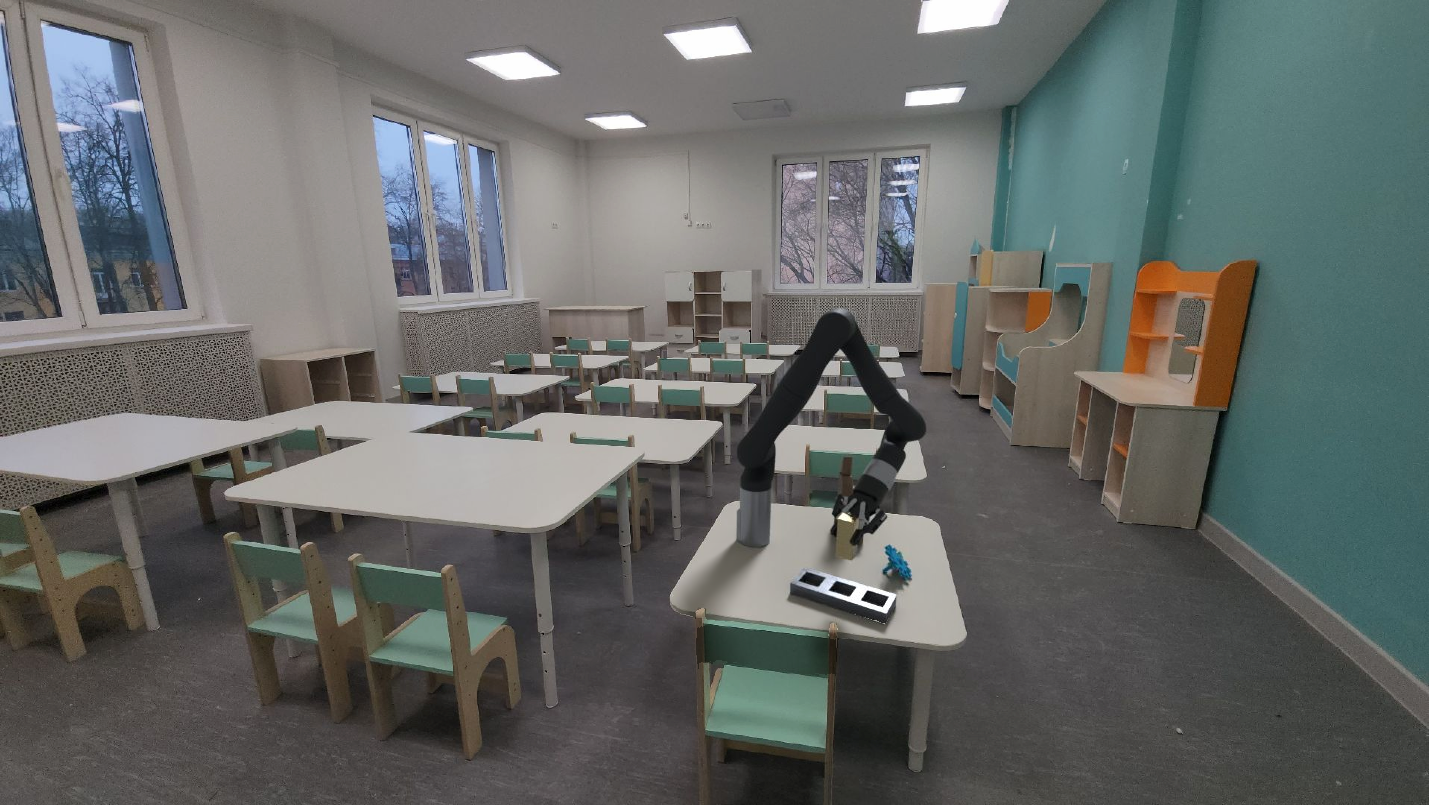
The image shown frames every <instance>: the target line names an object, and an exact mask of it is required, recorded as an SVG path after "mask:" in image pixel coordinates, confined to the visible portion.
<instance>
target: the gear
mask: <svg viewBox="0 0 1429 805" xmlns="http://www.w3.org/2000/svg"><path fill="white" fill-rule="evenodd" d="M883 548H884V549H885V551H884V554H885V555H886V556H887V560H888V562H887V566H885V567H884V568H883V569H882V573H884V574H885V573H887V572H889V570H892V569H894V571H897V570H899V572H898V574H899V575H900V576H901V577H902V578H903V577H904V579H906V580H909V579H910V578H912V577H913V575H912V569H911V568H910V567H909V564H908V562H907V561H906V560H904V556H903V553H902V552H901V550H900V551H898V550H897V548H896V547H895V546H894V547H893V546H892V545H891V544H887V545H885V546H884V547H883Z"/></svg>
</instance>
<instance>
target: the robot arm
mask: <svg viewBox="0 0 1429 805" xmlns="http://www.w3.org/2000/svg"><path fill="white" fill-rule="evenodd" d="M839 351H841V352H842V353H843V354H844V355H845V357H846V358H847V360H848V361H849V363H850V365H851V367H852V369H853V371H854V373H855V375H856V378H857V379H858V382H859V384H860V386H861V388H862V389H863V392H864V393H865V394H866V396H867V398H868V400H870V402H871V403H872V405H873V406H874V408H875V409H876V410H877V411H878V413H880V414H882V415H886V416H888V417H889V418H890V419H891V420H890V421H889V422H888V424H887V425H886V427H885V429H884V431H883V435H882V438H881V441H880V445H879V447H878V449H877V450H876V451H875V454H874V455H873V457H872V458H871V460H870V462H869V463H868V464H867V465H866V467H865V468H864V471H863V472H862V474H861V475H860V477H859V478H858V480H857V482H856V484H855V485H854V486H855V487H854V491H853V493H852V494H851V495H850V496H849V497H845V496H842V495H841V494H839V495H838V494H837V495H838V497H837V496H836V497H837V499H836V502H835V501H834V505H833V509H832V512H831V515H832V516H833V518H834V517H835V518H836V521H835V523H834V522H833V525H832V526H831V529H830V535H831V536H832V537H833V538H836V539H837V523H838V518H839V517H840V516H841V514H842V513H847V514H852V515H856V516H859V525H858V529H856V530H855V532H854V534H853V535H852V537H851V539H850V541H849V543H850V544H851V545H853V546H856V545H857V546H858V545H860V544H859V542H860V541H861V539H862V537H863V535H867V534H870V535H874V534H875V533H876V532H877V530H878V529H879V528H880V527H881V526H882V525H883V524H884V522H885V521H886V520H887V519H888V515H887V513H886V512H885V511H884V510H883V509H880V506H882V504H883V502H884V501H885V499H886V497H887V496H888V493H889V492H890V490H891V489H892V486H893V485H894V483H895V480H896V478H897V476H898V474H899V472H900V470H901V469H902V466H903V465H904V463H905V461H906V458H907V453H906V451H905V447H906V446H907V444H908V443H912V442H916V441H920V440H921V439H923V438H924V437H925V435H926V433H927V423H926V420H925V419H924V417H923V416H922V414H921V413H920V411H918V410H917V409H916V408H915V407H914V406H913V405H912V404H911V403H910V402H909V401H907V399H905V398H904V397H903V396H902V395H901V393H900V392H899V390H898V388H897V387H896V386H895V385H894V383H893V382H892V380H891V378H890V377H889V376H888V375H887V373H886V371H885V370H884V369H883V368H882V366H881V364H880V363H879V361H878V360H877V358H876V357H875V355H874V354H873V352H872V350H871V348H870V347H869V345H868V343H867V341H866V339H865V337H864V336H863V333H862V331H861V328H860V327H859V325H858V323H857V320H856V318H855V316H854V315H853V314H852V312H850V311H849V310H847V309H846V308H841V307H839V308H832V309H830V310H829V311H826V312H825V313H824V314H822V315H821V316H820V317H819V319H818V321H817V322H816V325H815V326H814V328H813V330H812V333H811V334H810V337H809V339H808V340H807V342H806V345H805V347H804V348H803V349H802V351H801V353H800V354H799V355H798V356H797V358H796V359H795V360H794V362H793V363H792V364H791V366H790V367H788V370H787V371H786V372H785V373H784V375H783V376H782V378H781V379H780V381H779V382H778V384H777V386H776V387H775V389H774V390H773V392H772V394H771V395H770V397H769V399H768V401H767V403H766V404H765V406H764V408H763V409H762V411H761V413H760V415H759V416H758V418H757V419H756V422H754V425H753V426H752V427H750V429H749V430H748V432H747V433H746V434H745V436H743V438H742V439H741V440H740V441H739V443H738V445H737V447H736V458H737V461H738V463H739V464H740V465H741V466H742V467H744V469H743V472H742V474H741V476H740V479H739V480H740V481H739V508H738V509H737V510H736V530H735V531H736V535H735V536H736V537H735V538H736V541H739V542H740V543H741V544H742V545H744V546H747V547H751V548H752V547H753V548H759V547H765V546H766V545H768V544H769V543H770V541H771V520H772V519H771V518H772V516H771V514H772V487H773V486H772V485H773V484H772V483H773V479H774V477H775V469H776V458H777V457H776V456H777V455H776V454H777V453H776V451H777V450H776V440H777V439H778V437H779V435H781V433H782V432H783V431H784V430H785V429H786V428H787V427H788V426H790V424H791V423H792V422H793V421H794V420H795V419H796V418H797V416H798V415H799V414H800V413H801V412H802V410H803V409H804V408H805V406H807V404H808V402H809V401H810V399H811V397H812V396H813V395H814V393H815V391H816V389H817V387H818V385H819V382H820V381H821V379H822V375H823V373H824V372H825V369H826V368H827V366H828V365H829V363H830V362H831V361H832V360H833V358H834V357H835V356H836V355H837V353H838V352H839ZM847 502H848V505H847V506H846V507H845V508H844V505H846V503H847ZM843 508H844V509H843ZM848 511H849V512H850V513H848ZM872 516H874V517H873V518H872V519H871V517H872ZM863 538H864V537H863Z"/></svg>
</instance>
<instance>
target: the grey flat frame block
mask: <svg viewBox="0 0 1429 805" xmlns="http://www.w3.org/2000/svg"><path fill="white" fill-rule="evenodd" d="M808 583H809V584H808ZM789 585H790V586H789V587H790V588H789V595H790V594H791V595H794V596H796V597H800V598H802V599H806V600H809V601H812V602H814V603H818V604H820V605H824V606H826V607H830V608H833V609H837V610H839V611H841V612H845V613H849V614H851V615H854V614H856V615H855V616H857V615H859V616H858V617H860V616H861V617H860V618H863V617H866V618H869V619H872V620H877V621H879V622H881V623H885V624H887V623H886V622H888V621H889V619H890V617H891V615H892V614H893V612H892V611H894V610H895V608H896V606H897V598H898V597H897V596H898V595H897V594H896V593H893V592H890V591H889V592H888V591H886V590H882V589H879V588H876V587H872V586H869V585H866V584H862V583H859V582H856V581H853V580H849V579H845V578H843V577H842V578H841V577H839V576H835V575H832V574H828V573H825V572H822V571H819V570H816V569H812V568H809V567H805V566H804V567H803V569H801V570H800V572H799V573H798V574H797V575H796V576H795V577H794V578H793V579H792V580H791V582H790V584H789ZM878 605H879V606H878ZM882 606H883V607H882ZM891 613H892V614H891ZM866 618H865V619H866ZM888 618H889V619H888ZM869 619H868V620H869ZM872 620H871V621H872ZM887 620H888V621H887ZM881 623H880V624H881Z"/></svg>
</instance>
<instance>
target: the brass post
mask: <svg viewBox="0 0 1429 805" xmlns="http://www.w3.org/2000/svg"><path fill="white" fill-rule="evenodd" d="M858 525H859V516H856V515H852V514H847V513H842V514H841V516H840V517H839V518H838V523H837V537H836V544H835V546H836V547H835V558H840V559H843V560H847V561H851V562H852V561H853V560H854V559H855V557H856V556H857V554H858V545H856V546H853V545H851V544H850V543H849V541H850V539H851V537H852V535H853V534H854V532H855V530H856V529H858Z"/></svg>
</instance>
